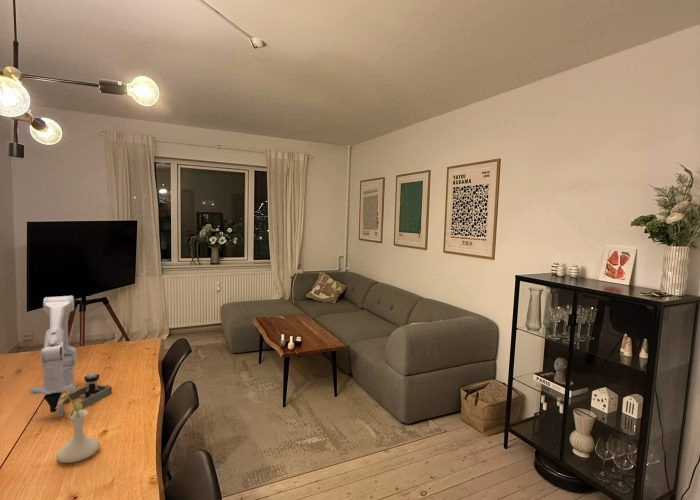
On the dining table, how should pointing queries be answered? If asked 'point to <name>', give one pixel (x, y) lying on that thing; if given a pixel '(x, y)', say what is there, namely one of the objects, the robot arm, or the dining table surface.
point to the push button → (91, 384)
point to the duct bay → (88, 401)
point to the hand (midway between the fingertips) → (54, 411)
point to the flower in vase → (76, 435)
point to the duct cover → (60, 408)
